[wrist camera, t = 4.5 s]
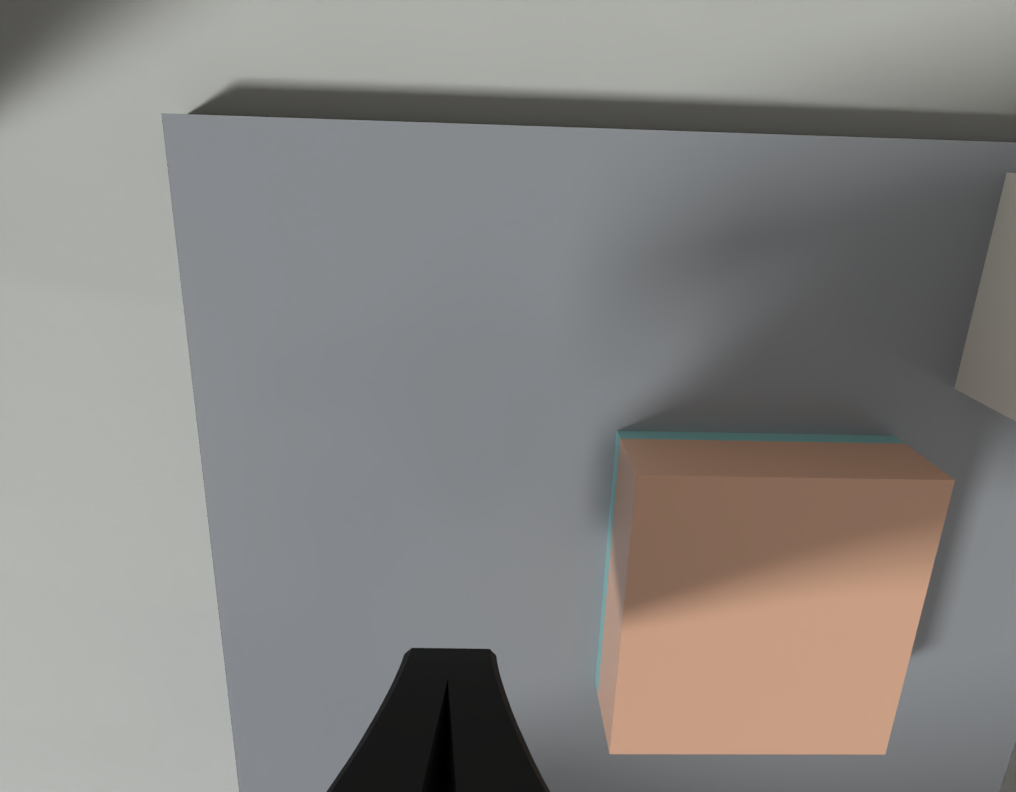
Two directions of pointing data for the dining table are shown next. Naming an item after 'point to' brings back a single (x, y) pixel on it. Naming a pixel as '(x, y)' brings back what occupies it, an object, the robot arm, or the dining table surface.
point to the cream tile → (995, 318)
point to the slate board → (565, 409)
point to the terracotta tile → (763, 590)
